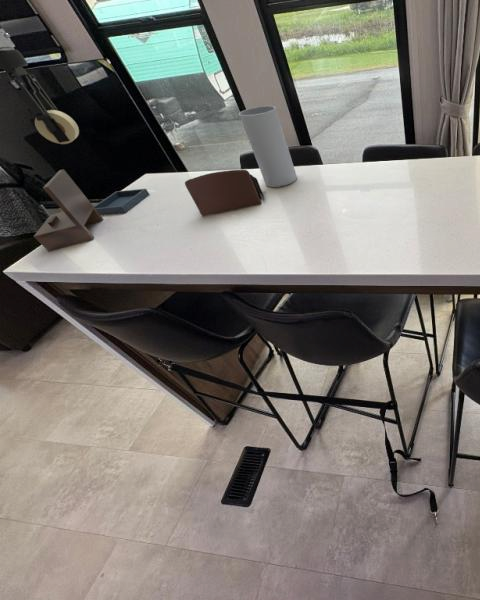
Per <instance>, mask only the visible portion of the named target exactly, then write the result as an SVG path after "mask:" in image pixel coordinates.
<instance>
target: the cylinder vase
mask: <svg viewBox="0 0 480 600" xmlns="http://www.w3.org/2000/svg"><path fill="white" fill-rule="evenodd" d="M238 116H239V118H240V121H241V124H242V127H243V129H244V131H245V134H246V136H247V140H248V142H249V144H250V147H251V150H252V152H253V155H254V158H255V160H256V163H257V166H258V168H259V171H260V174H261V176H262V179H263V181H264V184H265V185H266V186H267V187H269V188H280V187H286V186H289V185H291V184H293V183H295V181H296V180H297V177H298V176H297V172H296V169H295V166H294V163H293V159H292V156H291V153H290V150H289V147H288V143H287V140H286V137H285V134H284V129H283V126H282V124H281V121H280V117H279V114H278V111H277V107H276V106H274V105H264V106H263V105H262V106H256V107H251V108H248V109H244V110H242V111H240V112H239V113H238Z"/></svg>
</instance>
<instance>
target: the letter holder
mask: <svg viewBox="0 0 480 600" xmlns="http://www.w3.org/2000/svg"><path fill="white" fill-rule="evenodd" d="M184 184H185V188H186V190H187V192H188V193H189V195H190V197H191V198H192V200H193V202H194V204H195V206H196V208H197V209H198V211H199V213H200V215H201V217H205V216H210V215H216V214H220V213H225V212H229V211H236V210H241V209H244V208H249V207H254V206H259V205H262V201H261V200H263V201H264V200H265V196H264V193H263V191H262V188H261V186H260V183H259V180H258V178H257V177H256V176H254V175H252V174H251V173H250V172H249V171H248V170H247V169H232V170H223V171H222V170H221V171H216V172H211V173H206V174H202V175H199V176H196V177H193V178H190V179H187V180H185V182H184Z"/></svg>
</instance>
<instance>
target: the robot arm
mask: <svg viewBox="0 0 480 600" xmlns="http://www.w3.org/2000/svg"><path fill="white" fill-rule="evenodd" d="M15 47H16V45H15V43H14V42H13V41H12V40H11V35H10V34H9V32H6V31H5V30H4V28H3V27H2V25H1V24H0V70H3V71H4V72H5V73H6V75H7V77H8V80H6V83H7V84H8V85H9V86H10V87H11V88H12V90H14V92H15V93H16V94H17V95H18V97H19V98H20V100H21V101H22V102H23V103H24V104H25V106H26V107H27V109H29V111H30V112H31V114H33V116H34V118H37V120H38V121H41V120H42V121H43V122H44V123H45V125H46V126H47V127H48V129H49V130H50V131H51V133H52V134H53V135H54V136H55V138H56V139H57V140H58V142H59V143H61V142H66V141H70V140H69V139H68V137H67V136H66V135H65V133H64V132H63V131H62V129H61V128H60V127H59V125H58V124H57V123H56V121H55V120H54V118H51V117H50V115H49V114H48V112H47V110H57V111H59V108H58V107H56V105H55V104H54V102H53V101H52V100H51V98H50V97H49V95H48V94H47V93H46V91H45V90H44V88H43V87H42V85H41V84H40V82H39V81H38V79H37V78H36V76H35V75H34V74H30V73H28V71H26V69H25V68H24V67H27V66H28V65H29V63H28V61H27V60H26V59H25V57H24V56H23V54H22V53H21V51H19V50H18V49H15ZM59 143H58V144H59Z"/></svg>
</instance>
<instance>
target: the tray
mask: <svg viewBox="0 0 480 600" xmlns="http://www.w3.org/2000/svg"><path fill="white" fill-rule="evenodd" d="M149 196H150V193H149V191H148V190H147V188H138V189H128V190H118V191H114V192H113V193H111V194H110V195H109V196H107V197H106V198H104V199H102V200H101V201H99V202H98V203H97V204H95V205H93V206H94V208H95V209H96V210H97V211H98V213H99V214H100V215H101V216H106V215H107V216H108V215H117V214H126V213H128V212H129V211H131V210H132V209H133V208H134V207H136V206H137V205H138V204H139V203H141V202H142V201H143V200H145V199H146V198H147V197H149Z"/></svg>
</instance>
